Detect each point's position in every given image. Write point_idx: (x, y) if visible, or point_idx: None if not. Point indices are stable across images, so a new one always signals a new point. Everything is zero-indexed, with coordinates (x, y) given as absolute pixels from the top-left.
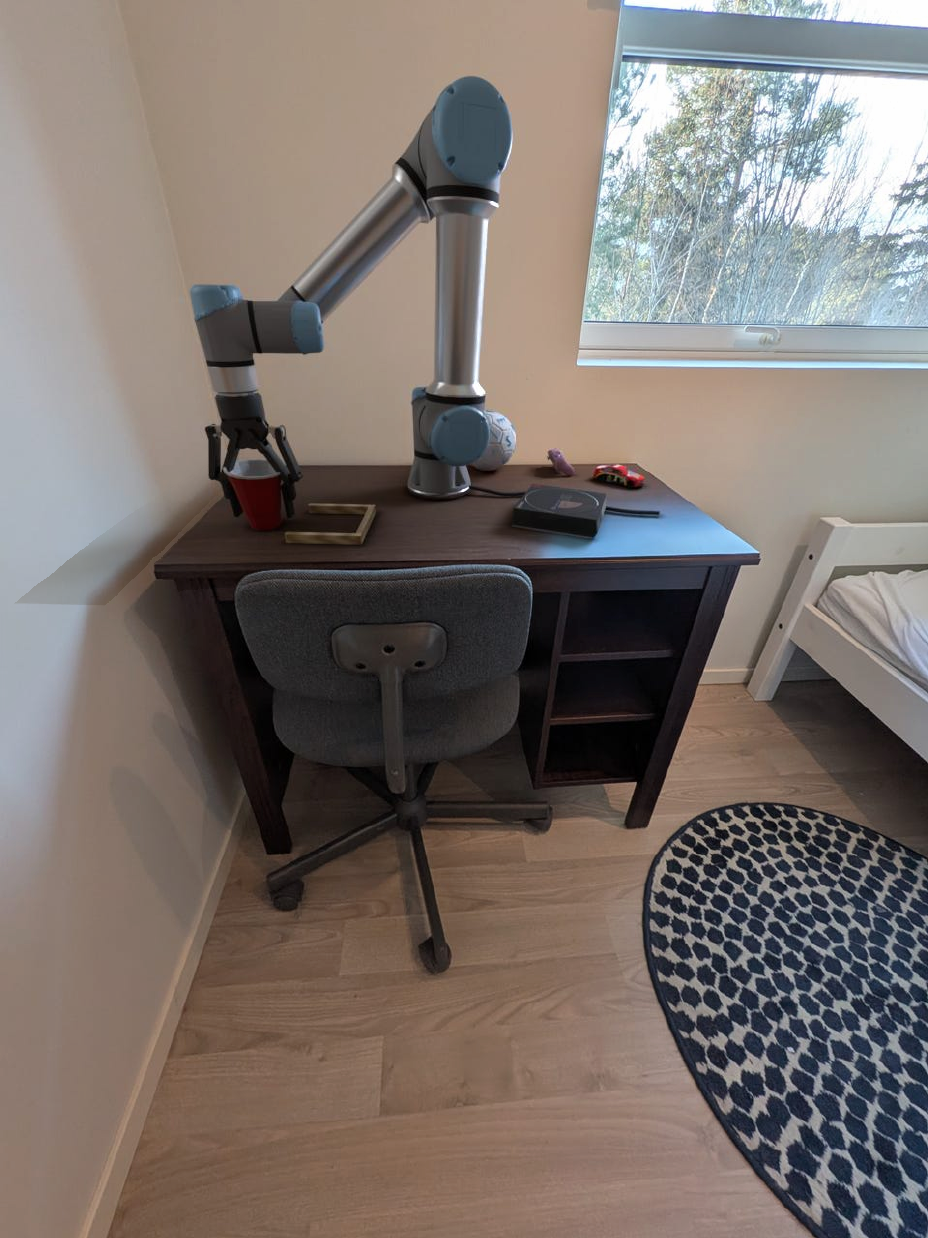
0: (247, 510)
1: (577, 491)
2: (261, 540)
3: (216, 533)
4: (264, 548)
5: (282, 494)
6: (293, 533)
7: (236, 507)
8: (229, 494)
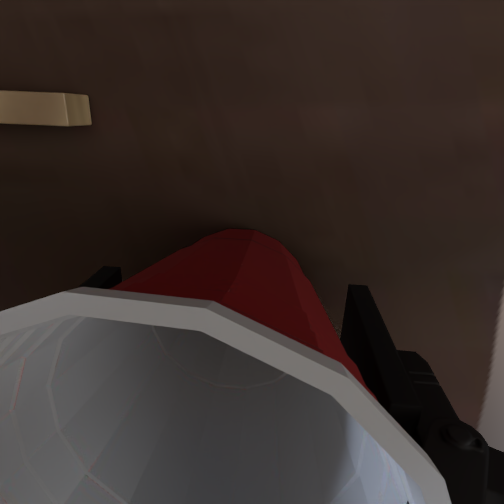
0: (273, 255)
1: None
2: (207, 125)
3: (433, 203)
4: (161, 30)
5: None
6: (27, 104)
7: (355, 315)
8: (391, 355)
